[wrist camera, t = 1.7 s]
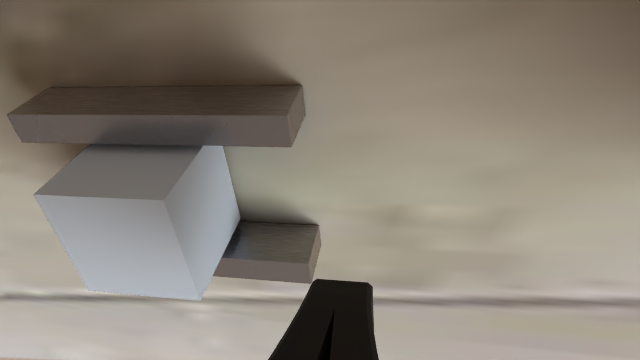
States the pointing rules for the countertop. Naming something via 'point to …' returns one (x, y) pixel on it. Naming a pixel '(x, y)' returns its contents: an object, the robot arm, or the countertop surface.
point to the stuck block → (143, 217)
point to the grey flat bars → (190, 129)
